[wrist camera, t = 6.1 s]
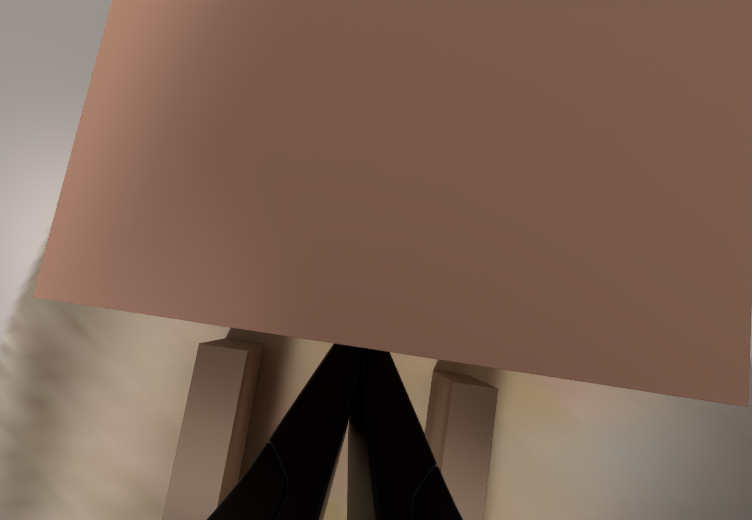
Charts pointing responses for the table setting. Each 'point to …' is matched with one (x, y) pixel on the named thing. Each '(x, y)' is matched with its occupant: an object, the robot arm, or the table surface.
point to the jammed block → (428, 181)
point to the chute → (232, 416)
